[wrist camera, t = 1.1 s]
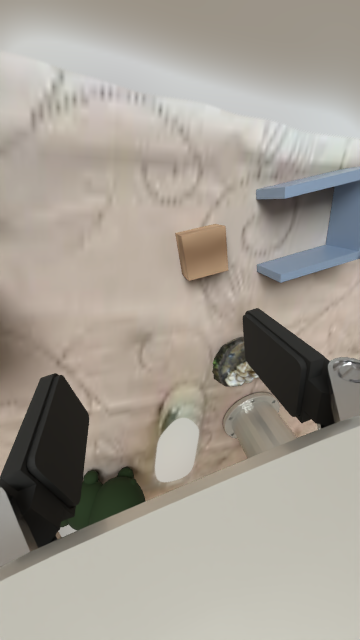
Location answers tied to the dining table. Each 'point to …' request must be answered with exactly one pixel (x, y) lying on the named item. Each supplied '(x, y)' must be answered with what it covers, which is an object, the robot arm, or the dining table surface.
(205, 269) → the cardboard shipping box
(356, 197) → the box
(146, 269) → the dining table surface
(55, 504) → the robot arm
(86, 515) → the toy figurine
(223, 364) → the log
